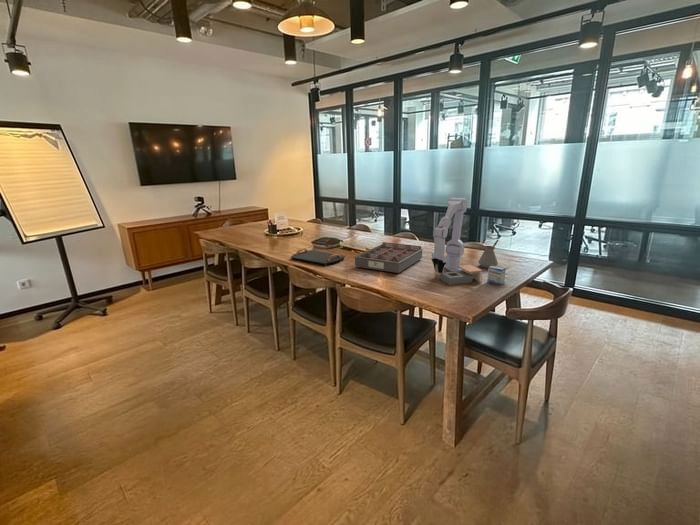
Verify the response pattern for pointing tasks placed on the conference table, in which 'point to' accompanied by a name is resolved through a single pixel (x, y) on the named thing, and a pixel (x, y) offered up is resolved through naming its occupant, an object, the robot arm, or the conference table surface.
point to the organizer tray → (389, 257)
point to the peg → (437, 275)
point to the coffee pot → (488, 257)
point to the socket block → (456, 277)
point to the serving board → (317, 256)
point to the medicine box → (496, 275)
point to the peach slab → (472, 271)
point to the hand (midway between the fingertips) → (438, 271)
